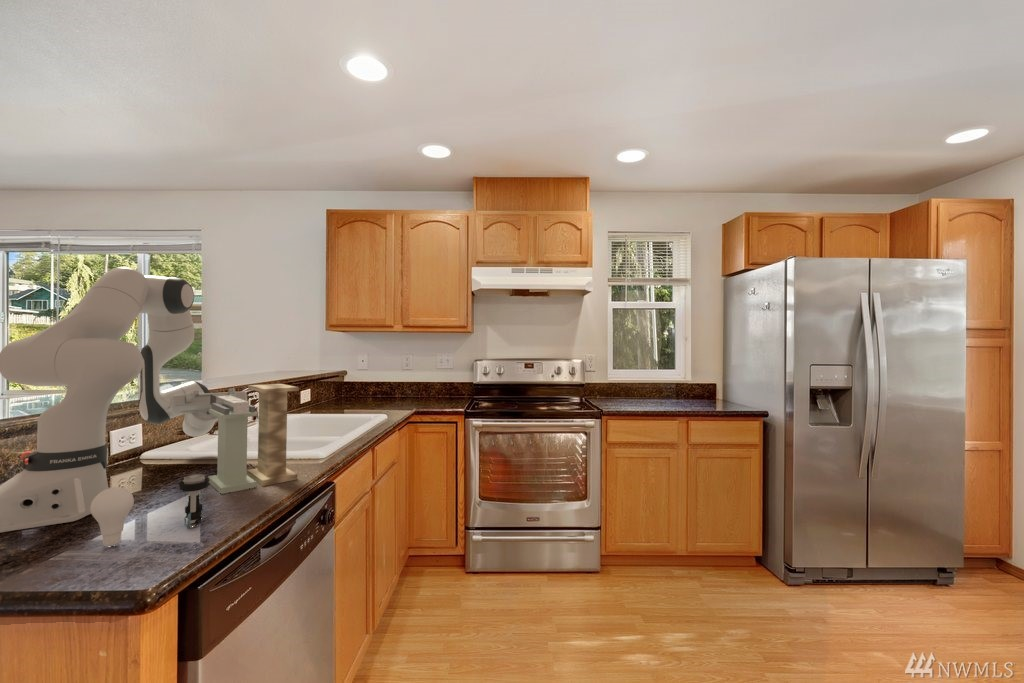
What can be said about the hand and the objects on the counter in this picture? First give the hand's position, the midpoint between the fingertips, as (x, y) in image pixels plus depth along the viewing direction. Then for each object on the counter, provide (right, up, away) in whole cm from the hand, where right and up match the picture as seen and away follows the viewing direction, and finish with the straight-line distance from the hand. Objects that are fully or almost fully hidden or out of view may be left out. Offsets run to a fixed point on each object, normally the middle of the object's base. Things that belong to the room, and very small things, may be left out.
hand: (214, 391), depth 137 cm
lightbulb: (+15, -23, -52) cm, 59 cm away
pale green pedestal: (+14, -24, -15) cm, 31 cm away
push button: (+23, -24, -42) cm, 53 cm away
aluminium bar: (+12, -3, -12) cm, 17 cm away
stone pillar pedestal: (+21, -24, -8) cm, 33 cm away
